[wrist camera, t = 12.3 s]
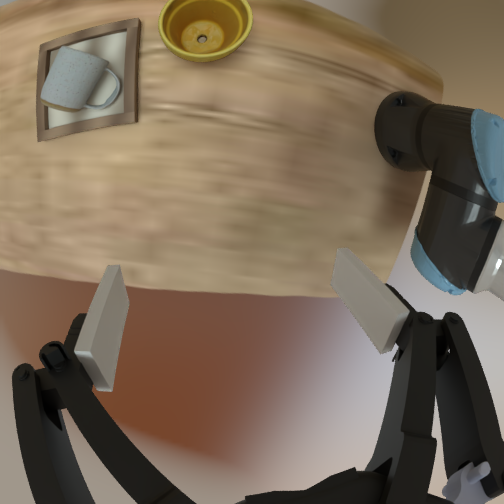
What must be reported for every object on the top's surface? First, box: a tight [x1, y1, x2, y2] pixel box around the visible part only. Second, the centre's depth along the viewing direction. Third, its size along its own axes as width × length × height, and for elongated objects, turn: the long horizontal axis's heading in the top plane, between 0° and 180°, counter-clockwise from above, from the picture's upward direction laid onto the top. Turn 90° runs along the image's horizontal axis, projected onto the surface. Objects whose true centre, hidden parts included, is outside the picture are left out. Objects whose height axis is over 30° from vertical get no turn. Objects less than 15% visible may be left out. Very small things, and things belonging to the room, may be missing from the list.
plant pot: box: [158, 0, 253, 62], centre depth 25 cm, size 10×10×10 cm
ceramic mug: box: [40, 46, 120, 113], centre depth 24 cm, size 11×8×8 cm
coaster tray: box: [36, 18, 141, 142], centre depth 27 cm, size 16×16×2 cm
